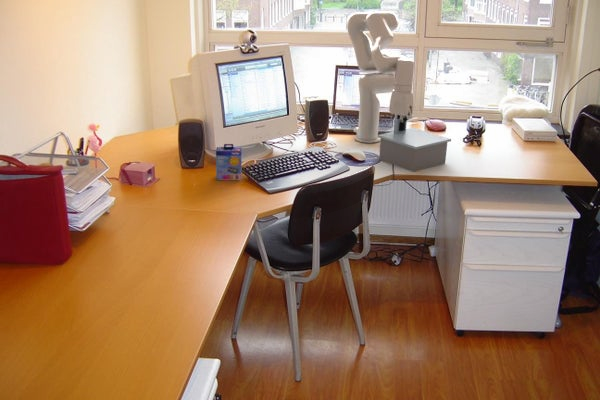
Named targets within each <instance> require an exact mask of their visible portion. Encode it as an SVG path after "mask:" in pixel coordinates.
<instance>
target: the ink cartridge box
mask: <svg viewBox="0 0 600 400" xmlns="http://www.w3.org/2000/svg"><path fill="white" fill-rule="evenodd" d="M215 173H216V181H241V180H242V147H241V146H234V143H224V144H223V146H216V148H215Z"/></svg>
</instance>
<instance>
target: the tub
mask: <svg viewBox="0 0 600 400" xmlns="http://www.w3.org/2000/svg"><path fill="white" fill-rule="evenodd" d="M379 143H380V144H379V145H380V146H379V155H378V157H379V158H378V159H379V160H380V161H382V162H385V163H387V164H391V165H393V166H396V167H399V168H401V169H405V170H407V171H411V172H413V173H414V172H418V171H421V170H425V169H426V170H427V169H429V168H433V167H437V166H440V165H445V164H446V160H447V159H446V158H447V148H448V142H445V143H441V144H437V145H433V146H428V147H424V148H420V149H413V148H410V147H407V146H403V145H400V144H397V143H394V142H391V141H388V140H385V139H382V138H381V140H380V141H379Z"/></svg>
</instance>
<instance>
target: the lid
mask: <svg viewBox="0 0 600 400" xmlns="http://www.w3.org/2000/svg"><path fill="white" fill-rule="evenodd" d="M394 119H395V118H394ZM400 122H401V118H400V119H395V120H394V124H393V131H391V132H390V131H389V132H386V133H380V134H378V138H382V139H385V140H388V141H391V142H394V143H397V144H400V145H403V146H407V147H410V148H413V149H420V148H424V147H428V146H433V145H437V144H441V143H445V142H447V143H449V142H450V143H451V142H452V138H451V137H450V138H449V137H446V136H442V135H440V134H435V133H433V132H432V133H431V132H429V131H425V130H422V129H418V128H415V127H409V128H407V122H408V121H407V122H405V130H404V131H399V123H400Z"/></svg>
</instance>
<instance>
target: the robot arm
mask: <svg viewBox="0 0 600 400" xmlns="http://www.w3.org/2000/svg"><path fill="white" fill-rule="evenodd" d="M346 24H347V33H348V36H349V38H350V40H351V43H352V45H353V49H354V54H355V58H356V62H357V67H358V69H359V70H360V72H363V73H364V74H363V75H361V76H360V77H359V79H358V91H359V109H358V110H359V111H358V112H359V113H358V127H355V128H354V129H353V132H354V133H356V135H354V140H355V141H356V142H359V143H365V144H366V143H367V144H374V143H380V142H381V138H378V135H379V125H380V124H379V122H380V108H381V102H380V100H379V98H378V97H377V95H379V94H380V95H381V94H388V93H389V94H390V93H391V96H390V101H389V108H388V109H389V113H390V114H391V115H392V116H393V119H394V121H395V119H400V118H401V122H400V123H399V131H404V130H405V122H408V120H412V119H413V114H414V113H413V111H414V94H413V85H414V83H413V82H414V71H415V61H414V60H413V59H411V58H408V57H407V56H405V55H390V54H389V53H388V52H387V51H383V50H384V49H386V48H387V47H389V46H390V45H391V44H392V43H393V41H394V35H393V33H392V32H394V31H395V30H396V29H397V28H398V24H399V21H398V17H397V14H395V13H394V12H392V11H375V12H373V11H372V12H371V11H367V12H366V11H364V12H363V11H362V12H355V13H352V14H351V15H350V16H349V17H348V19H347V23H346ZM365 32H369V34H370V36H371V38H372V40H373V42H374V44H373V43H372V40H371V39H370V37H369V36H368V35H367V34H366V33H365Z"/></svg>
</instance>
